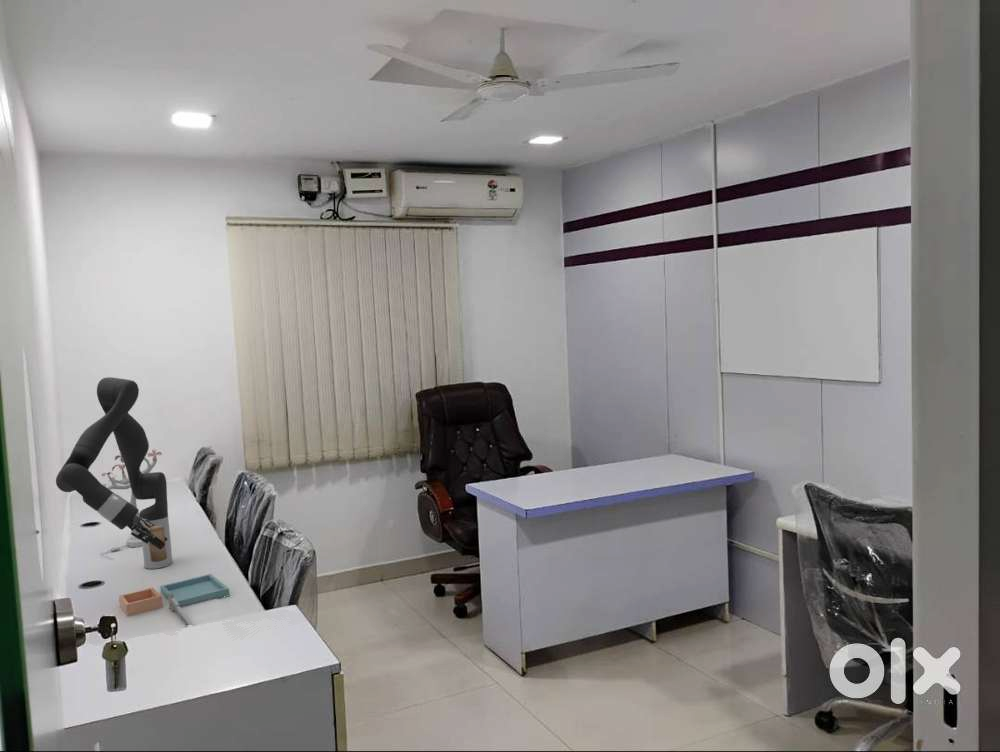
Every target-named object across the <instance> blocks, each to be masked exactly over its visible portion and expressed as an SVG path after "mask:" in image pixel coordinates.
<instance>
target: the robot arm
mask: <svg viewBox="0 0 1000 752" xmlns="http://www.w3.org/2000/svg"><path fill="white" fill-rule="evenodd" d="M139 390H140V389H139V385H138V384H137V382H136V381H134V380H131V379H128V378H127V379H125V378H118V377H112V376H111V377H109V376H108V377H103V378H101V379H100V380H99V382H98V383H97V387H96V396H97V400H98V403H99V405H100V406H101V409H102V410H103V412H104V415H103V416H102V417H101V418H99V419H98V420H97V421H95V422H94V423H92V424H91V425H90V426H88V427H87V428H86V429H85V430H84V431H83V432H82V433H81V435H80V436H79V438H78V440H77V441H76V443H75V445H74V447H73V449H72V451H71V453H70V456H69V457H68V458H67V460H66V461H65V462H64V464H63V465H62V467H61V468H60V471H59V472H58V473H57V475H56V477H55V484H56V486H57V488H58V489H59V490H60V491H62V492H65V493H72V492H75V491H76V492H77V493H78V494H79V495H80V496H81V497H82V501H83V502H84V503H85V505H87V506H88V507H90V508H91V509H93V510H94V511H96V512H97V513H98V514H99V515H100V516H101V517H102V518H104V519H105V520H107V521H108V522H109V523H111V524H112V525H114V526H115V527H117V528H118V529H120V530H124V529H125V528H126V527H127V528H129V529H130V536H131V535H133V536H134V537H136V538H138V539H140V540H141V541H142V546H141V547H142V552H143V553H142V554H143V565H144V568H145V569H151V570H152V569H161V568H165V567H168V566H170V565H172V564H173V554H172V552H173V551H172V543H171V541H172V540H171V533H170V531H171V530H170V521H169V511H168V508H169V506H168V504H169V503H168V489H167V487H168V486H167V479H166V475H165V473H163V472H161V471H158V472H149V473H141V472H140V471H141V465H142V463H143V462H144V461H145V460H144V458H146V457H147V455H148V453H149V447H150V444H149V439H148V438H147V435H146V431H145V429H144V428H143V426H142V425H141V423H139V422H138V421H137V420H136V419H135V418H134V417H133V416H132V415H131V414H129V412H130V411H131V409H132V408H133V407H134V405H135V404H136V402H137V400H138V397H139V395H140V394H139V393H140V391H139ZM112 433H113V436H114V437H115V441H116V445H117V448H118V450H119V454H120V453H121V455H122V458H123V460H124V463H123V464H125V470H126V473H127V477H128V478H129V482H130V486H131V488H130V489H131V493H133V495H134V497H135V498H136V500H140V501H141V500H154V504H152V505H150V506H148V507H145V508H143V509H142V510H140V511H139V508H138V507H137V508H136V507H134V506H133V505H132V504H130V501H127V500H126V499H125V498H123V497H122V496H121V495H118V494H116V493H115V492H113V491H112V489H110V490H109V489H108V487H106V485H105V486H104V484H103V483H101V482H100V481H99V480H98V478H97V477H96V476H95V475H93V474H92V472H90V470H89V469H90V467H91V466H92V465H93V463H94V462H95V461H96V459H97V458H98V456H99V454H100V453H101V451H102V449H103V447H104V445H105V444H106V443H107V440H108V439H109V437H110V436H111V434H112ZM121 455H120V456H121ZM138 511H139V516H140V517H138V516H136V514H137V513H138ZM153 526H164V533H165V543H166V553H167V559H166V560H163V561H159V562H152V561H151V557H150V547H149V543H150V542H151V543H152V544H153V545H155V546H156V547H157V548H159V549H162V548H163V547H164V546H165V543H164V542H163V541H162V540H160V539H159V538H157V537H156V536H155V535H154V534H152V533H151V530H150V529H149V528H150V527H153Z"/></svg>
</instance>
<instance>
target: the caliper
mask: <svg viewBox="0 0 1000 752" xmlns="http://www.w3.org/2000/svg"><path fill="white" fill-rule="evenodd" d="M167 600H168V609H169V610H170V612H174V613H176V614H178V616H179V617H180V619H181V620H182V622H184V624H185V625H186V626H187V625H193V626H194V624H193V622H192V621H191V619H190V618H189V617H188V616H187V614H186V613H185V612H184V610H183V609H182V607H180V606H179V603H178V602H177V601H176V599H175V598H174V594H173V593H172V592H170V593H169V595H168V599H167Z"/></svg>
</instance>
